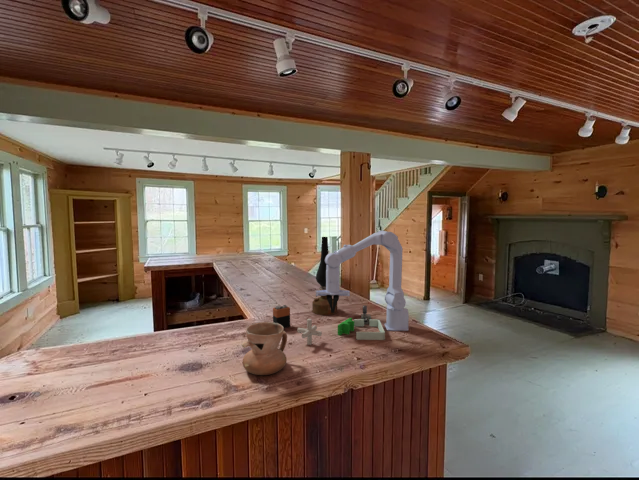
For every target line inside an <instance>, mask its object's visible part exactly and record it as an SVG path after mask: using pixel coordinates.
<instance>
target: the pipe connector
mask: <svg viewBox="0 0 639 480" xmlns="http://www.w3.org/2000/svg"><path fill="white" fill-rule="evenodd" d="M312 324H313V323H312V318H307V320H306V328H303V327H297V330H296V331H297V333H301V337H302V339H306V341H307V342H306V343H307V345H308V346H312V344H313V339H312V338H313V336H318V337H322V334H323V331H321V330H317V329H318V327H317V325H312Z"/></svg>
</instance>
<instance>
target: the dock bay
mask: <svg viewBox="0 0 639 480" xmlns="http://www.w3.org/2000/svg"><path fill="white" fill-rule="evenodd" d="M353 321H354V327H364V326H365V325H364V319H361V318H357V319H356V318H355V319H353ZM382 324H383V323H382V322H381V320H380V319H372V318H371V319H370V323H369V325H368V326H369V327H377V328H378V331H356V333H355V334H356V336H355V337H356V339H355V340H359V341H360V340H361V341H362V340H365V341H366V340H367V341H373V340H375V341H385V340H386V331H385V329H384V327H383V325H382Z"/></svg>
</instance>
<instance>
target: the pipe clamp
mask: <svg viewBox="0 0 639 480" xmlns="http://www.w3.org/2000/svg"><path fill="white" fill-rule="evenodd" d="M354 331H355V326H354V320H353V317H349V318H347V319H345V320H344V321H341V322H340V323H339V324H337V336H342V335H344V334H345V335H350V332H354Z"/></svg>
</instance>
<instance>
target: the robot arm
mask: <svg viewBox="0 0 639 480" xmlns="http://www.w3.org/2000/svg"><path fill="white" fill-rule="evenodd" d="M372 245H376V246H377V245H378V246H381V247H382V246H383V247H384V248H385V249H387V251H388V252H389V275H388V279H389V280H388V281H389V283H388V284H389V285H388V287H387V288H386V293H385V296H384V301H385V303H386V317H385V318H386V322H385V323H384V327H385V329H386V331H398V332H399V331H400V332H401V331H405V332H408V331H409V329H410V328H409V319H410V318H409V317H410V316H409V310H408V309H407V307H406V305H407V303H406V298H405V292H404V291H403V289H402V277H403V249H404V248H403V246H402V244H401V242H400V240H399V236H398V235H396V234H395V233H394V232H392V231H386V230H379V231H377V232H374V233H372V234H370V235H368V236H367V237H365V238H363V239H362V240H360V241H358V242H356V243H355V244H353V245H351V244H343V246H342V247H341V248H339V249H337V250H333V252H330V253H329V252H328V255H327V256H326V258H325V263H326V264H327V265H326V290H319V289H318V290H315V297H316V296H317V297H321V296H327V300H328V302H329V305H330V308H331V313H334V311H335V307H336V304H337V305H338V302H339V299H340V296H341V297H344V296H345V297H346V296H347V297H350V296H351V294H350V292H351V291H350V290H341V289H340V266H341V264H342V263H345V262H346V261H348V260H350V259H353V258H354V257H355V256H356V254H357V252H359V251H362V250H363V249H366V248H368V247H371V246H372ZM332 298H333V306H332Z"/></svg>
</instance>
